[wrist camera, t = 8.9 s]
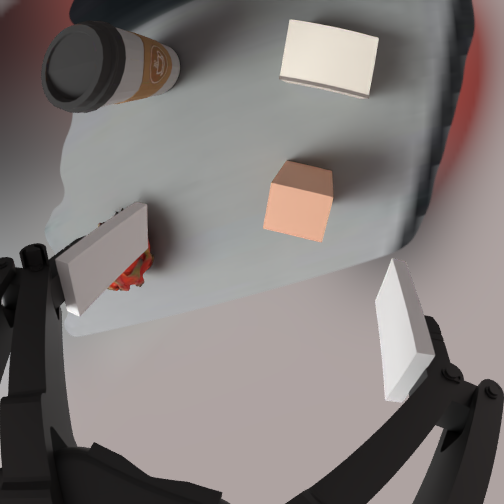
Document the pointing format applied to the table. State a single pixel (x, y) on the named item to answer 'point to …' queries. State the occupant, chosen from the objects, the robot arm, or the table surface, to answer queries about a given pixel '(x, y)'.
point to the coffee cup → (105, 67)
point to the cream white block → (329, 58)
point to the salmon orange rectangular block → (300, 201)
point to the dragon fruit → (133, 270)
